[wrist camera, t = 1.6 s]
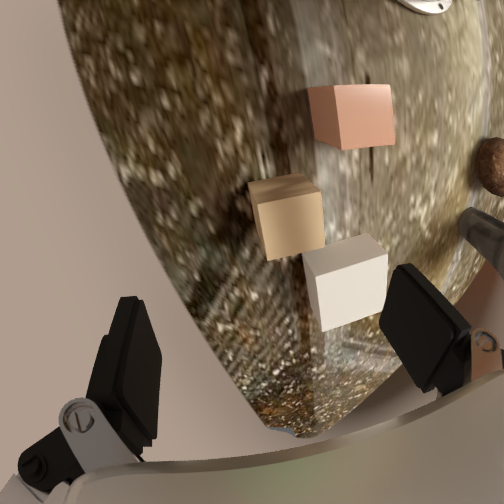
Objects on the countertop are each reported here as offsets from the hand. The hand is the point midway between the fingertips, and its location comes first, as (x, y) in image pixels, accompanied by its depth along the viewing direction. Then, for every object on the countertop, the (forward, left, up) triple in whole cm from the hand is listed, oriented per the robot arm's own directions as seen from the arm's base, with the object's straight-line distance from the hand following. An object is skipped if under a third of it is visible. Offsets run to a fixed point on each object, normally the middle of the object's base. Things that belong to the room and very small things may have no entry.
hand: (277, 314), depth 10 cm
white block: (-10, +13, -19) cm, 25 cm away
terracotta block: (-11, -5, -18) cm, 22 cm away
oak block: (-4, +3, -18) cm, 19 cm away
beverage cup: (-32, +11, -19) cm, 38 cm away
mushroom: (-35, +2, -19) cm, 39 cm away
